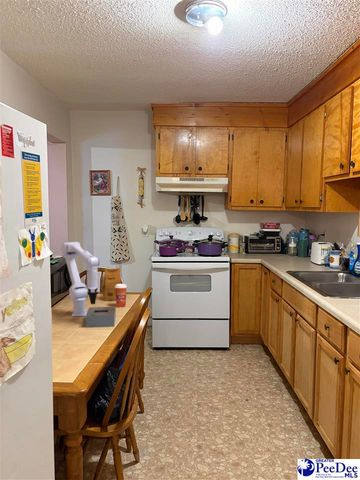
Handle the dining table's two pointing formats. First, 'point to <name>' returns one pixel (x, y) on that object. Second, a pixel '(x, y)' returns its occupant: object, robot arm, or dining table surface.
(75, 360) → the dining table surface
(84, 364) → the dining table surface
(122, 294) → the paper cup
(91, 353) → the dining table surface
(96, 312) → the coin box
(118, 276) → the coffee package
